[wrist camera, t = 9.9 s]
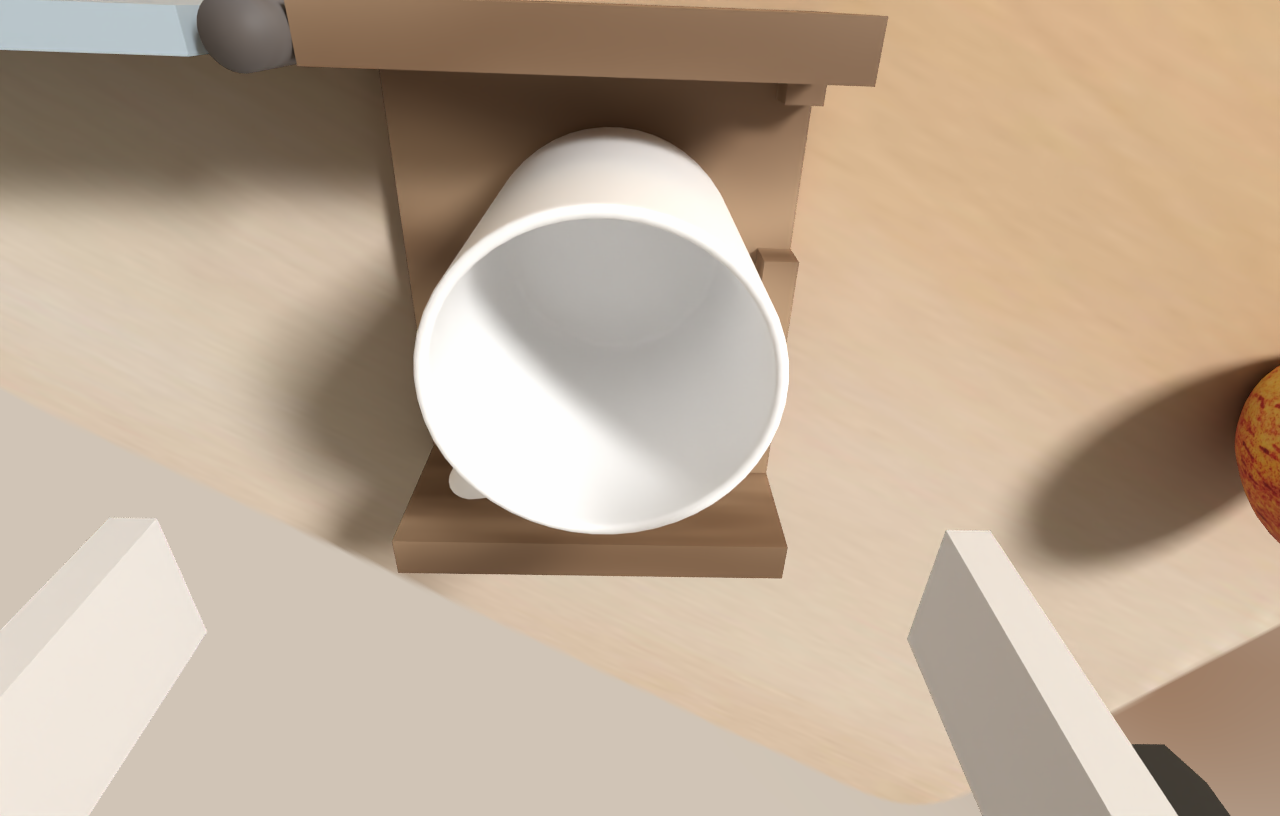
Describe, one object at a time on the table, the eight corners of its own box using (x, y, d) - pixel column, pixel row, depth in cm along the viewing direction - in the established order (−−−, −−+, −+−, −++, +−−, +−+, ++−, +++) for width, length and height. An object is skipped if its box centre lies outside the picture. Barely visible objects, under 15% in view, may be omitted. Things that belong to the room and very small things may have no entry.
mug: (394, 319, 26) (268, 491, 17) (600, 61, 22) (579, 106, 13) (568, 444, 29) (540, 648, 20) (779, 240, 25) (867, 382, 16)
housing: (327, -8, 22) (187, -11, 15) (817, 11, 22) (902, 17, 15) (407, 460, 31) (343, 592, 24) (752, 467, 31) (787, 598, 24)
